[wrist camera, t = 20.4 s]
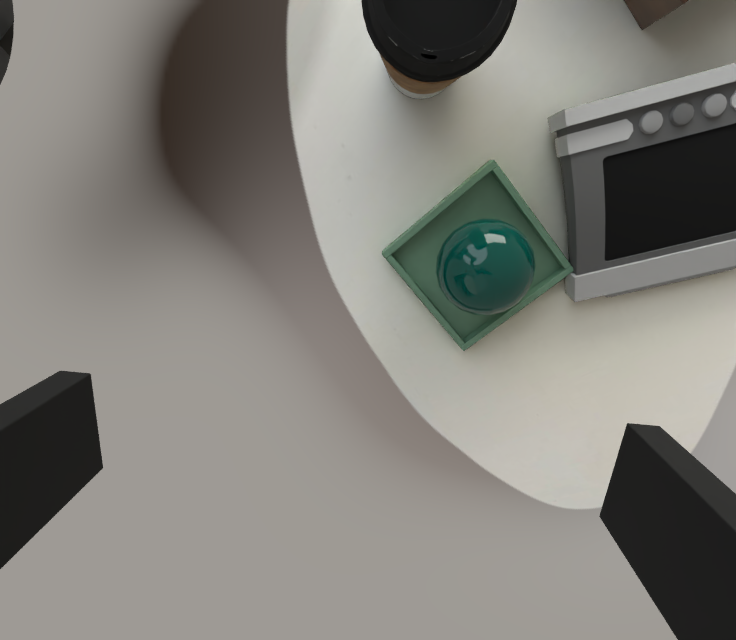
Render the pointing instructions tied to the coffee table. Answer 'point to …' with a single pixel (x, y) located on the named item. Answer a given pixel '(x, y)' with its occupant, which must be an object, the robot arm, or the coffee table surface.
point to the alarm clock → (650, 184)
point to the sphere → (485, 266)
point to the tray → (466, 203)
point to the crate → (652, 10)
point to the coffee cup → (435, 39)
